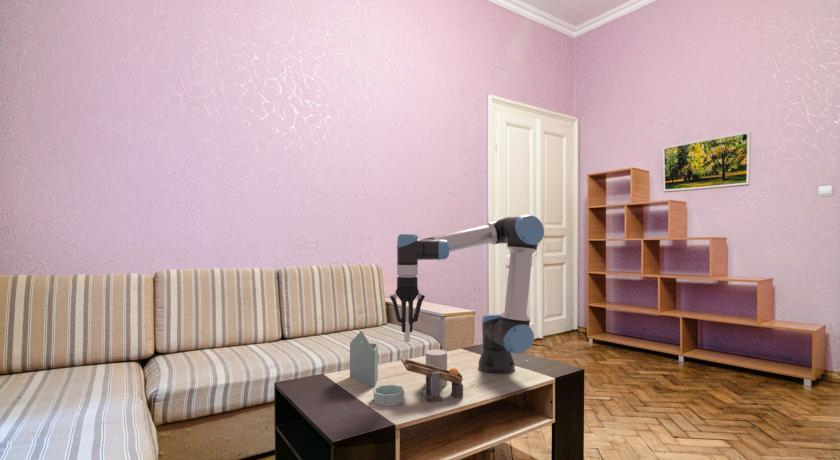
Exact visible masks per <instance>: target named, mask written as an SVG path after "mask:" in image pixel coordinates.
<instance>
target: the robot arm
mask: <svg viewBox="0 0 840 460" xmlns="http://www.w3.org/2000/svg"><path fill="white" fill-rule="evenodd" d="M418 236H419V235H418V234H417V233H412V234H411V233H400V234H398V236H397V241H396V248H397V249H396V253H397V255H396V256H397V257H396V260H397V262H396V263H397V264H396V265H397V266H396V268H397V269H396V275H397V278H396V290H395V292H394V293H393V294H391V295H389V299H390V301H391V302H392V306H393V309H394V310H393V311H394V315H395V319H396V321H397V322H398V323H401V332H402V333H404V337H403V338H404V339H403V340H404V343H410V342H411V341H410V340H411V339H410V338H411V337H410V335H411V334H410V333H412V332H413V327H414V326H413V324H414V323H415V322H418V320H419V315H420V312H421V307H422V304H423V301H424V300H425V298H426V297H425V295H424V294H421V293H420V291H419V288H418V287H419V286H418V282H419V281H418V280H419V278H418V277H417V276H418V271H419V270H418V267H419V262H418V261H421V260H422V261H424V260H425V261H428V260H429V261H430V260H431V261H434V260H437V261H440V260H447V259H448V258H449V256H450V253H451V252H455V251H460V250H464V249H469V248H473V247H474V248H475V247H478V246H484V245H488V244H490V245H492V246H494V245H498V244H506V245H507V246H506V247H507V249H508V250H509V252H510V253H509V264H508V274H507V283H506V294H505V295H506V296H505V301H504V302H505V303H504V311H503V312H502V313H487V314H484V315H483V316H482V318H481V319H482V320H481V326H482V327H481V328H482V329H481V332H482V337H481V338H482V340H481V341H482V349H481V352H480V353H481V354H480V356H479V360H478V369H479V370H480V371H482V372H485V373H490V374H509V373H513V372H514V371H515V368H516V365H515V361H514V358H513V354H517V355H519V354H523V353H526V352H527V351H528V350H529V349H531V348H532V345H533V344H534V341H535V333H534V331H533V330H532V328H531V327H530V323H531V319H530V317H529V316H528V315H527V313H528V303H529V292H530V283H531V282H530V281H531V273H532V263H533V254H534V253H535V252H536V251H537V250H538V244H539V243H540V242H541V241H542V240H543V239H544V236H545V228H544V225H543V223H542V221H541V220H540V219H539V218H538V217H537V216H536V215H531V214H521V215H509V216H506V217H503V218H500V219H497V220H494V221H489V222H486V224H485V225H481V226H478V227H473V228H468V229H465V230H464V229H463V230H460V231H459V230H458V231H455V232H454V231H453V232H450V233H444V234H439V235H434V236H431V237H426V238H419V237H418ZM416 298H417V301H416V306H415V310H414V301H415V300H416ZM397 299H399V300H400V302H401V309H400V310H401V315H400V312H399V307H398V302H397ZM407 303H408V310H407ZM407 311H408V312H407ZM407 314H408V315H407ZM413 314H414V315H413ZM407 316H408V317H407ZM406 320H408V322H407V321H406Z"/></svg>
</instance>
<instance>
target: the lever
mask: <svg viewBox="0 0 840 460" xmlns="http://www.w3.org/2000/svg"><path fill="white" fill-rule="evenodd" d="M400 362H401V363H402V364H403V366H404V368H405V369H406V371H408V372H412V373H416V374H420V375H423V376H425V377H426V376H430V377H431V372H439V373H440V379H442V380H445V381H447V382H449V383H452V382H453V383H457V384H461V383H462V381H463V379H464V378H463V375H462V373H461V372H459V375H458V376H454V375H450V374H449V370H450V369H447V370H445V369H441V368H438V367H434V366H430V365H426V363H422V362H418V361H415V360H412V359H408V358H405V357H400ZM462 384H463V383H462Z"/></svg>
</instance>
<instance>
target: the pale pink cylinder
mask: <svg viewBox="0 0 840 460" xmlns="http://www.w3.org/2000/svg"><path fill="white" fill-rule="evenodd" d="M425 364H426V365H434V367H438V368H441V369H445V370H448V352H447V350H445V349H444V350H443V349H429V350H426V351H425ZM447 385H448V381H445V380H442V379H440V388H443V387H446V386H447Z"/></svg>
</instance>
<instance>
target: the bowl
mask: <svg viewBox="0 0 840 460" xmlns="http://www.w3.org/2000/svg"><path fill="white" fill-rule="evenodd" d="M373 402H374V404H375V405H379V406H382V407H389V406H397V405H400V404H402V403H404V402H405V390H404V388H403V387H402V386H401V385H396V384H384V385H383V384H382V385H379V386H376V387H373Z"/></svg>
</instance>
